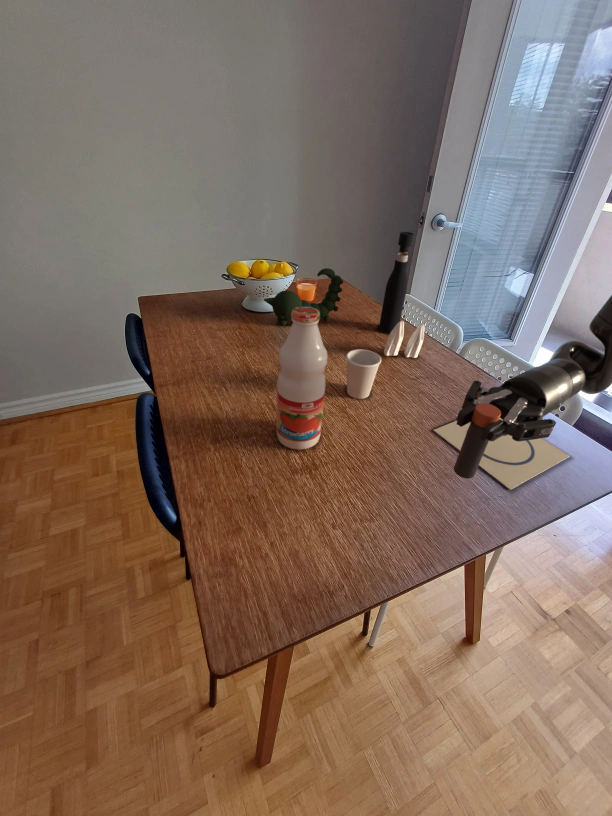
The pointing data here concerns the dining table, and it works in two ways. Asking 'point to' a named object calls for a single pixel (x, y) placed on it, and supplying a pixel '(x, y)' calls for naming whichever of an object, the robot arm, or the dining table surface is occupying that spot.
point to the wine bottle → (396, 287)
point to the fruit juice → (301, 381)
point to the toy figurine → (290, 300)
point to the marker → (475, 440)
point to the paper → (508, 455)
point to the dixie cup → (361, 372)
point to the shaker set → (397, 337)
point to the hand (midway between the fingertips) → (472, 427)
